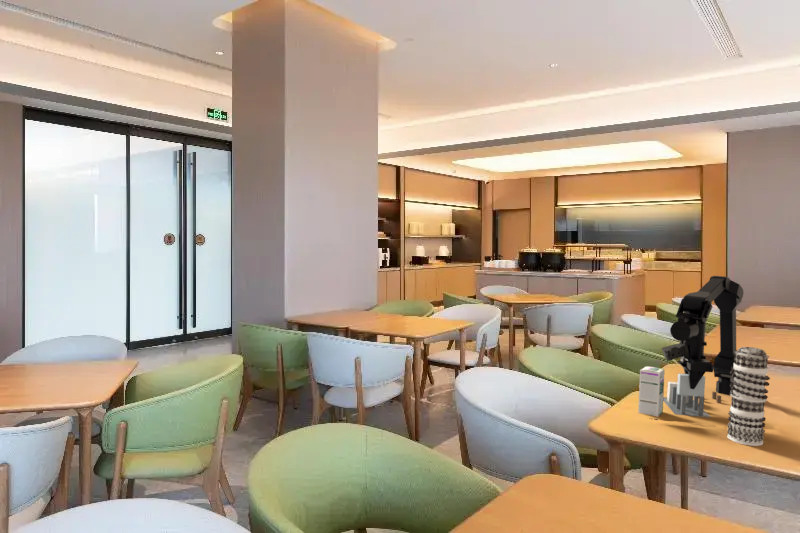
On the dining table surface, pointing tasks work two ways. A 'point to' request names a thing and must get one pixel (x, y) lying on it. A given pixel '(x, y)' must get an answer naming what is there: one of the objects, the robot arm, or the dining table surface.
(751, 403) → the decorative candle
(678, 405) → the rack
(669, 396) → the white rectangular block
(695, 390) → the white long rectangular block
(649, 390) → the syrup box
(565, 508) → the dining table surface
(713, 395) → the stand
